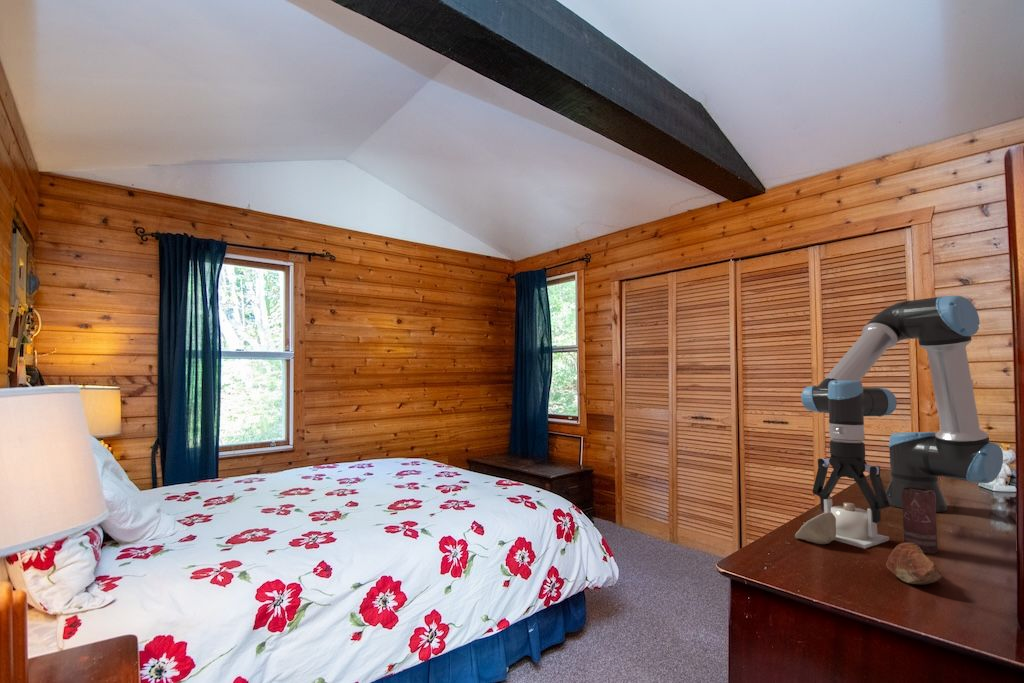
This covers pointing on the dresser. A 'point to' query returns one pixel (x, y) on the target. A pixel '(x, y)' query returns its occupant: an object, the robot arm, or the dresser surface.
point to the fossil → (912, 565)
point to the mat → (863, 541)
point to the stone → (819, 529)
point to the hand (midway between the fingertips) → (850, 529)
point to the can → (920, 518)
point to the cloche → (851, 521)
